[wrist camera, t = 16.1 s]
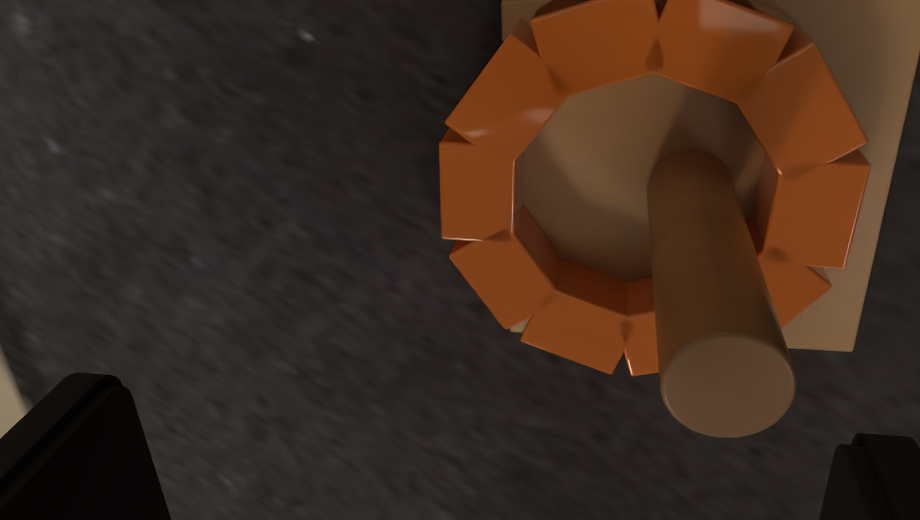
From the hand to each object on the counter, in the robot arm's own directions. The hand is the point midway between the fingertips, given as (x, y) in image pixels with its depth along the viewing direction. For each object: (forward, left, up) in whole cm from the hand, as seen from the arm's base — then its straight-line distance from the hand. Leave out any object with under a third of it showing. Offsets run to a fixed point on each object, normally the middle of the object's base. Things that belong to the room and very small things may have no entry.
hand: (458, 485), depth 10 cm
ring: (+3, 0, -11) cm, 11 cm away
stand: (+4, 0, -12) cm, 13 cm away
